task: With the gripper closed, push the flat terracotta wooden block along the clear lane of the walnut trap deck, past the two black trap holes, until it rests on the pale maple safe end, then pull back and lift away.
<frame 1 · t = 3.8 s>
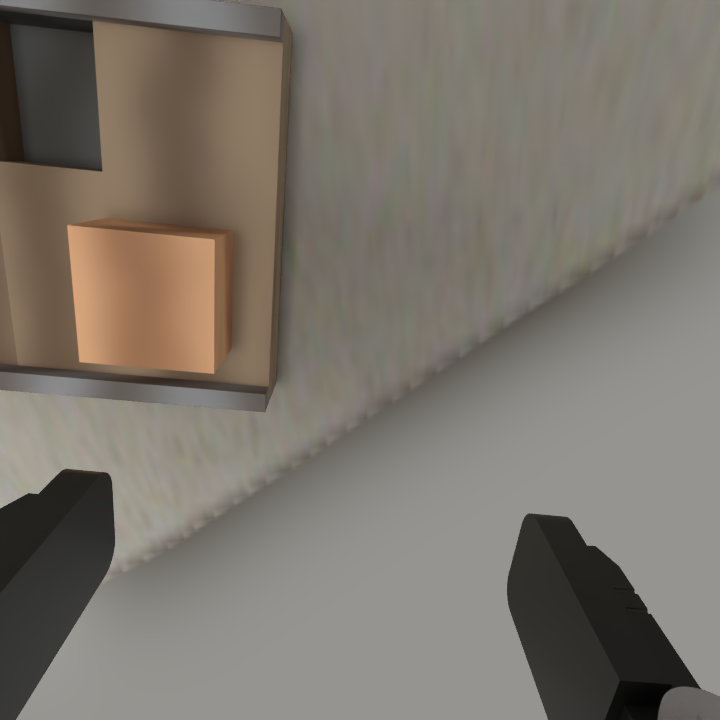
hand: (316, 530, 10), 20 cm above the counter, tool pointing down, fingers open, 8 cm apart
trap deck: (34, 202, 27), on the counter
terracotta block: (171, 286, 26), point 3 cm above the counter, touching trap deck
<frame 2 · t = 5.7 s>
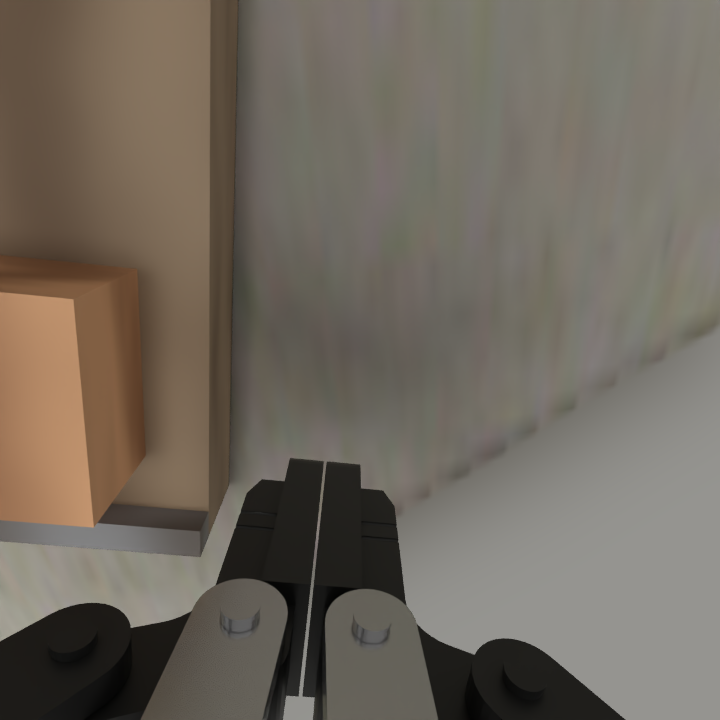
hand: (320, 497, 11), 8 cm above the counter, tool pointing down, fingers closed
terracotta block: (39, 359, 15), point 3 cm above the counter, touching trap deck
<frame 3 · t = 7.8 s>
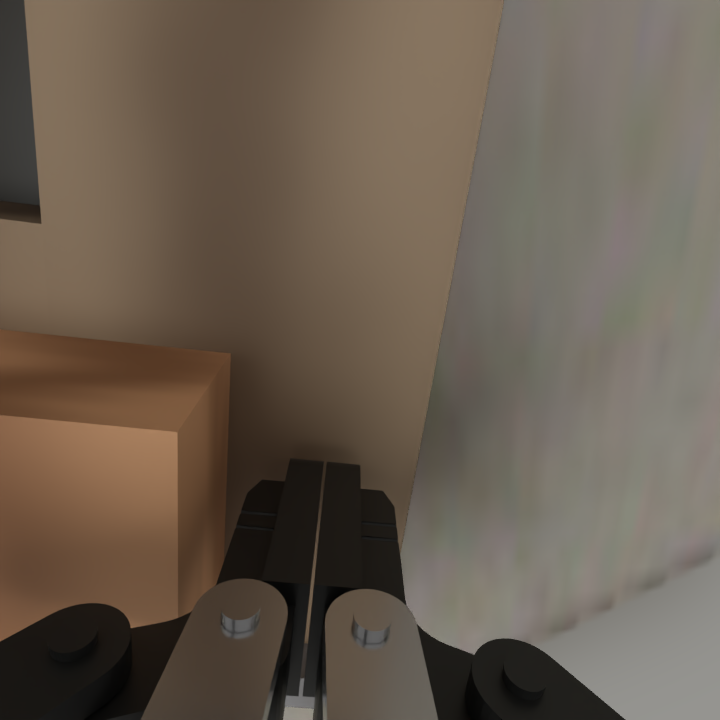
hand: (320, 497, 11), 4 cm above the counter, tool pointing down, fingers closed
terracotta block: (93, 464, 12), point 3 cm above the counter
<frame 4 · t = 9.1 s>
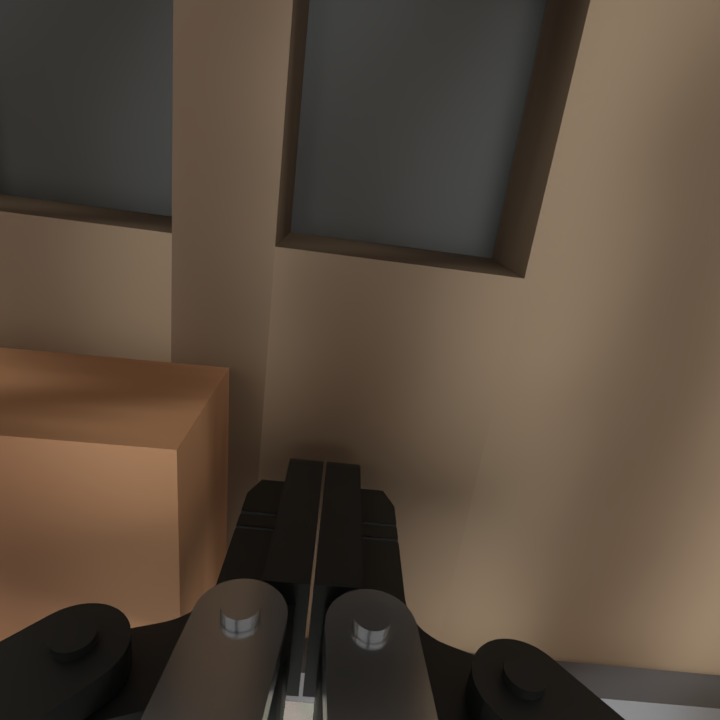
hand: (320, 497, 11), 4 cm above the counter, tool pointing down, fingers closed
trap deck: (285, 307, 14), on the counter
terracotta block: (95, 477, 12), point 3 cm above the counter, touching trap deck
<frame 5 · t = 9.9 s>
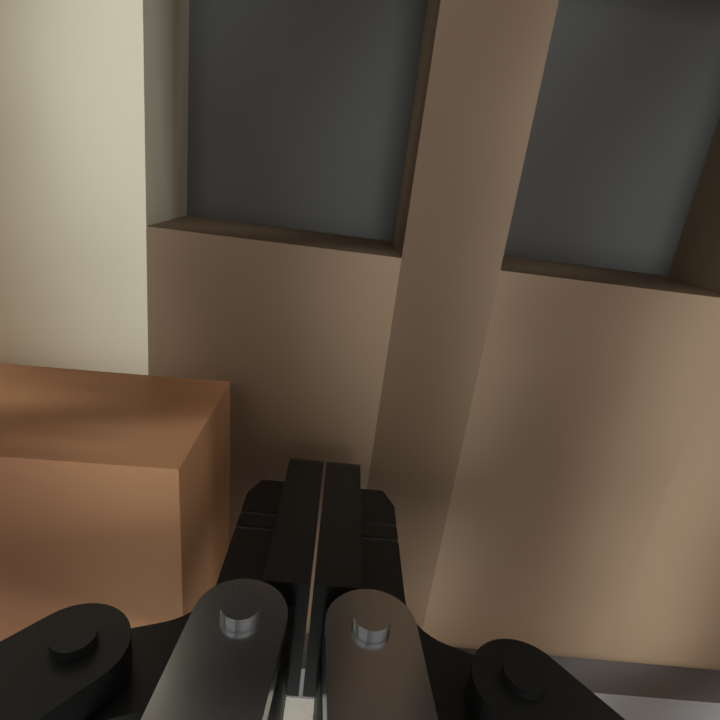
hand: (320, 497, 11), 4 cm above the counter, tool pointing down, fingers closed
trap deck: (454, 324, 14), on the counter
terracotta block: (99, 490, 12), point 3 cm above the counter, touching gripper, trap deck
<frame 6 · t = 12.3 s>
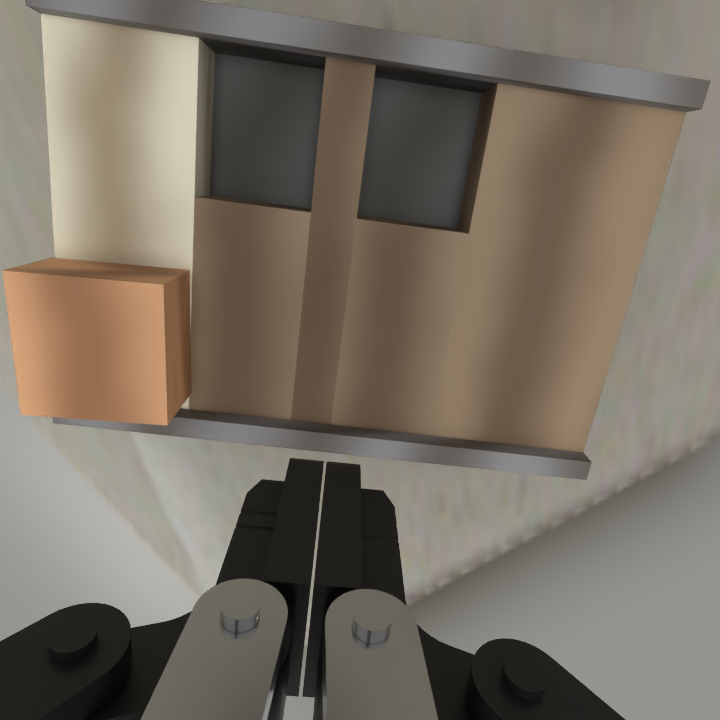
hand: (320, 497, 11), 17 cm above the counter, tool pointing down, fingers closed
trap deck: (350, 255, 26), on the counter
terracotta block: (125, 328, 24), point 3 cm above the counter, touching trap deck
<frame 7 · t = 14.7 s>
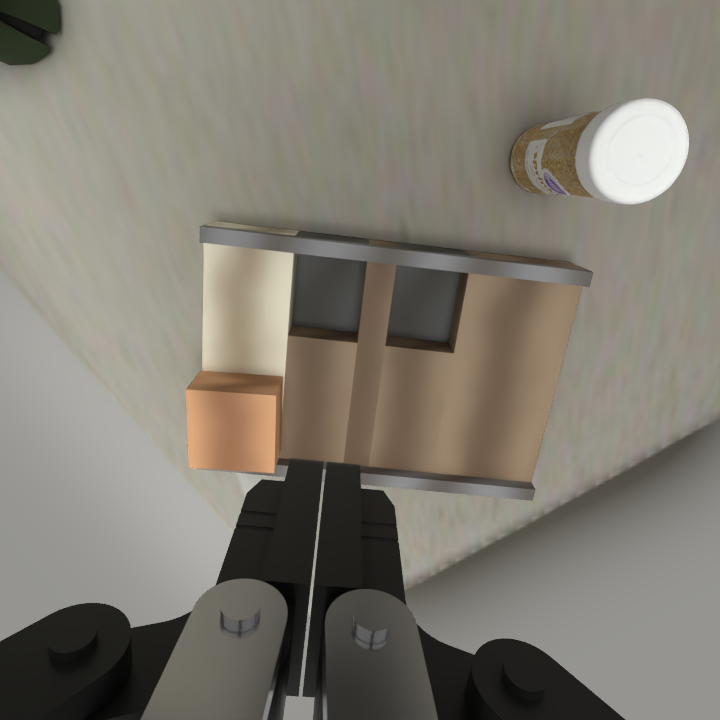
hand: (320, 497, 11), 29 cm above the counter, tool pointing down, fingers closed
trap deck: (379, 358, 41), on the counter
character mug: (15, 12, 33), on the counter
sprinkles bottle: (540, 159, 36), on the counter
terracotta block: (241, 410, 39), point 3 cm above the counter, touching trap deck
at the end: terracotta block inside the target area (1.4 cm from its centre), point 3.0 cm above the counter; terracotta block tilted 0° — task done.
